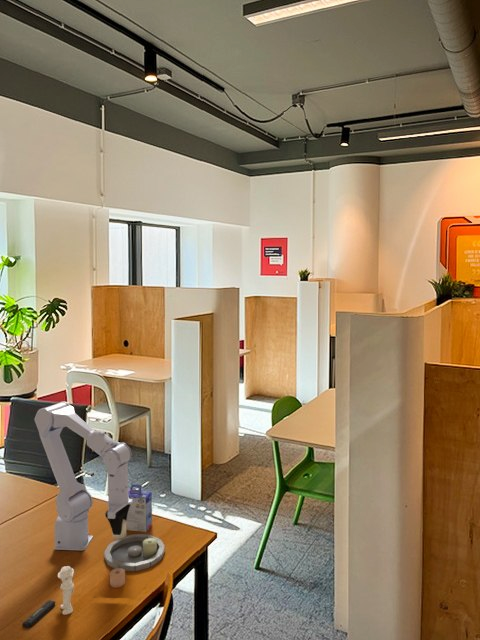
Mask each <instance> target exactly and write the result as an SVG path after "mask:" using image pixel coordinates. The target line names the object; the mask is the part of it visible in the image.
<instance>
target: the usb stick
mask: <svg viewBox="0 0 480 640" xmlns="http://www.w3.org/2000/svg"><path fill="white" fill-rule="evenodd" d="M55 606H56V601H55V600H47V601H46V602H45V603H43V604H42V605H41V606H40V607H39V608H37V609H36V611H34V612H33V613H32V614H30V615H29V616H28V618H26V619H25V620H24V621H23V622H22V627H23V628H26V629H30V628H32V627H33V626H34V625H35V624H36V623H37V622H39V621H40V620H41V619H42V618H43V617H44V616H45V615H46V614H47V613H48V612H50V611H51V610H52V609H53V608H54V607H55Z"/></svg>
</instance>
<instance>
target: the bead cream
mask: <svg viewBox="0 0 480 640" xmlns="http://www.w3.org/2000/svg"><path fill="white" fill-rule="evenodd" d="M111 533H112V538H113V539H116V540H117V539H119V538H123V537H125V536H127V530H126V520H125V519H123V523H122V531H121V534H120V535H113V532H111Z"/></svg>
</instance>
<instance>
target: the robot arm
mask: <svg viewBox="0 0 480 640" xmlns="http://www.w3.org/2000/svg"><path fill="white" fill-rule="evenodd" d="M75 410H76V409H75V407H74V406H72V405H71V404H70V403H69V402H67V401H65V400H64V401H59V402H58V403H56V404H52V405H49V406H47V407H42V408H39V409H38V410H37V412H36V414H35V417H34V419H33V420H34V423H35V426H36V428H37V431H38V433H39V439H40V441H41V443H42V446H43V449H44V451H45V453H46V456H47V460H48V462H49V465H50V468H51V470H52V473H53V475H54V478H55V480H56V483H57V486H58V488H59V491H58V492H57V496H56V497H55V498H54V499H55V501H54V502H55V504H56V512H57V513H56V514H57V515H58V516H57V517H56V520H55V522H54V550H55V551H56V550H58V551H61V550H62V551H79V552H80V551H86V549H87V548H88V546H89V545H90V543H91V541H92V540H93V538H94V535H89V515H88V514H89V513H90V509H91V508H92V506H93V502H94V501H93V497H92V494H90V492H89V491H88V489H87V487H86V485H85V484H82V483H80V482H78V481H77V478H76V475H75V473H74V472H75V471H73V467H72V464H71V461H70V460H69V456H68V454H67V451H66V448H65V446H64V443H63V441H62V438H61V436H60V435H61V433H62V431H63V429H64V428H66V427H67V429H69V430H71V431H72V432H74V433H76V434H77V435H79V436H80V437H82V438H83V439H84V440H86V446H87V447H88V448H90V449H91V450H92V451H94V452H95V453H96V454H97V455H99V456H100V457H101V458H102V461H103V464H104V466H105V469H106V470H105V471H106V473H107V491H108V493H107V494H108V496H107V497H108V499H107V507H108V508H107V509H108V510H106V511H105V512H104V515H105V518H106V519H107V520H108V523H109V525H110V529H111V531H112V532H113V534H112V536H113V535H120V534H121V531H122V523H123V519H125V520H127V515H128V511H129V508H130V505H131V504H132V502H133V500H132V499H129V490H130V489H129V466H128V465H129V464H128V463H129V461H130V460H131V459H132V454H133V453H132V450H131V448H130V446H129V445H127V443H126V442H119V441H116V440H114V439H113V438H111V437H110V436H109V435H108V434H106V431H104V430H101V429H93V428H92V427H91V426H90V425H89V424H88V423H86V421H84V420H83V418H81V417H80V416H79V415H78V414H77V413H76V412H75ZM112 532H111V533H112Z"/></svg>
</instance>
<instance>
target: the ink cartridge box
mask: <svg viewBox="0 0 480 640" xmlns="http://www.w3.org/2000/svg"><path fill="white" fill-rule="evenodd" d="M142 486H143V485H140V484H131V486H130V489H128V490H129V499H132V500H133V502H132V504H131V505H130V508H129V511H128V515H127V520H126V531H132V532H141V533H142V532H143V533H147V532H148V531H149V530H150V528H151V527H152V525H153V509H152V508H153V507H152V506H153V503H152V502H153V501H152V500H153V494H152V493H153V492H152V491H145V490H142ZM134 488H138V489H134Z"/></svg>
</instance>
